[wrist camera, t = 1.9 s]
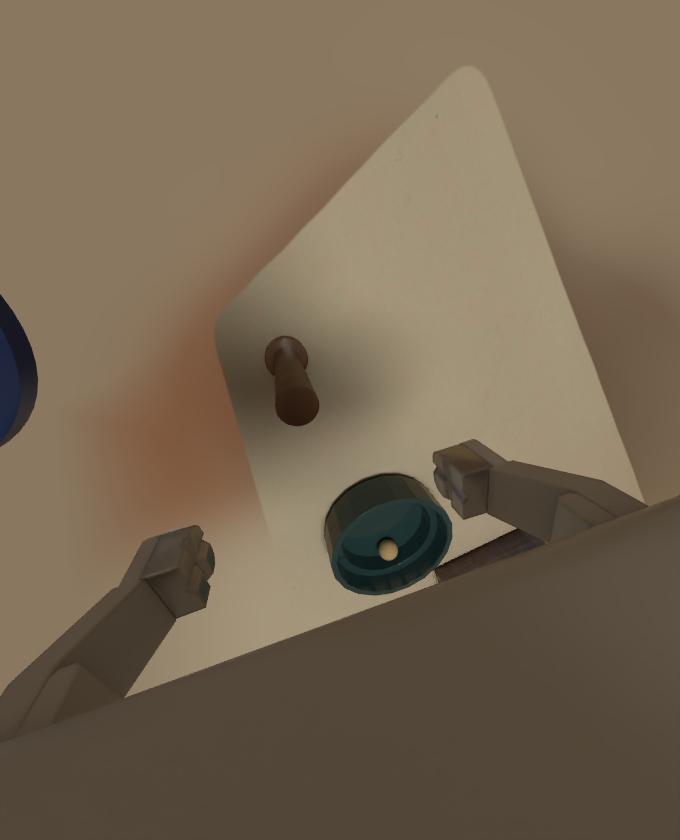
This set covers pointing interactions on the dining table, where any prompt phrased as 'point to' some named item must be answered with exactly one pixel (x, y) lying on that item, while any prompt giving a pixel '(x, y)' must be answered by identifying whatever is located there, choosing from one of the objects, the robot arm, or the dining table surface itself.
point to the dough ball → (388, 549)
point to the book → (489, 554)
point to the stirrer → (291, 381)
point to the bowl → (386, 535)
